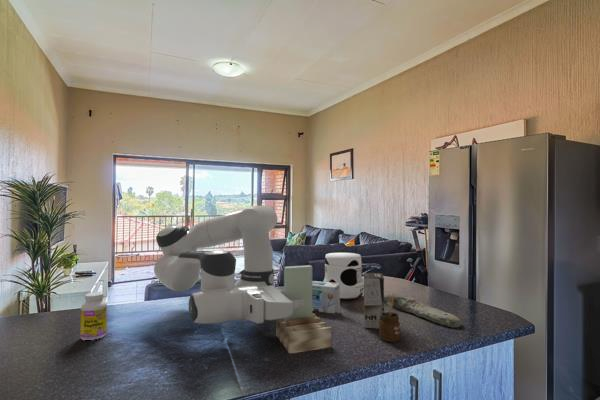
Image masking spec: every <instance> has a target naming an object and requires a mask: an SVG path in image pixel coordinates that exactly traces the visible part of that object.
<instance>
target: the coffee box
mask: <svg viewBox="0 0 600 400" xmlns="http://www.w3.org/2000/svg"><path fill="white" fill-rule="evenodd" d="M363 284H364V290H363V328H365V329H367V328H368V329H377V330H379V323H380V320H381V313H384V312H385V311H384V306H385V302H384V294H385V278H384V274H383V273H381V272H364V273H363Z"/></svg>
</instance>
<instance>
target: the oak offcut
mask: <svg viewBox="0 0 600 400" xmlns="http://www.w3.org/2000/svg"><path fill="white" fill-rule="evenodd" d="M316 328H321V327H320V326H319V325H311V326H303V327H296V328H294V331H301V330H308V329H316Z"/></svg>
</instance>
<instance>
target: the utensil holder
mask: <svg viewBox="0 0 600 400" xmlns="http://www.w3.org/2000/svg"><path fill="white" fill-rule="evenodd" d="M392 306H393V295H392V303H391V295H390V303H389V295H388V303H385V305H384V313H381V320H380V323H379V329H378V331H379V332H378V333H379V338H380V339H381V340H382V341H384V342H389V343H396V342H398V341H399V340H400V338H401V325H400V324H401V323H400V320H399V319H400V318H399V317H400V316H399V315H398V313H395V312H394V311H393V310H394V307H392ZM387 307H389V311H386V308H387Z"/></svg>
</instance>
